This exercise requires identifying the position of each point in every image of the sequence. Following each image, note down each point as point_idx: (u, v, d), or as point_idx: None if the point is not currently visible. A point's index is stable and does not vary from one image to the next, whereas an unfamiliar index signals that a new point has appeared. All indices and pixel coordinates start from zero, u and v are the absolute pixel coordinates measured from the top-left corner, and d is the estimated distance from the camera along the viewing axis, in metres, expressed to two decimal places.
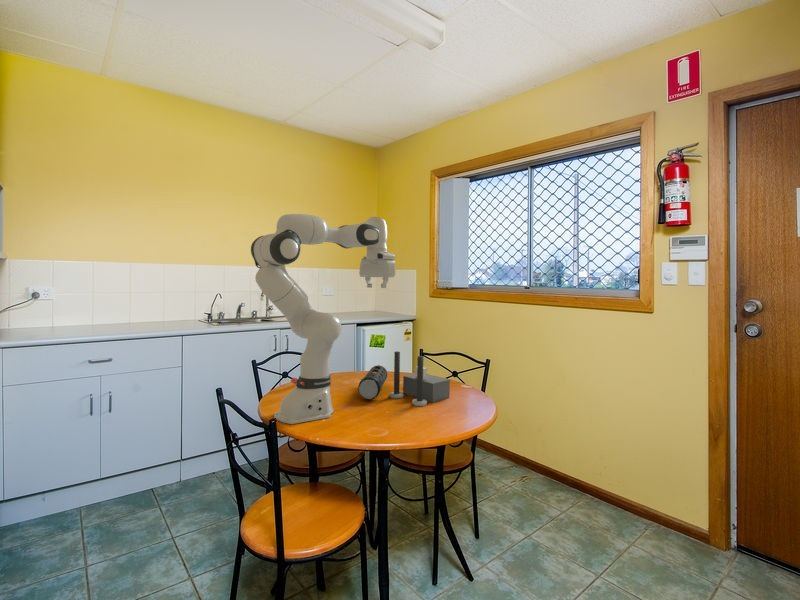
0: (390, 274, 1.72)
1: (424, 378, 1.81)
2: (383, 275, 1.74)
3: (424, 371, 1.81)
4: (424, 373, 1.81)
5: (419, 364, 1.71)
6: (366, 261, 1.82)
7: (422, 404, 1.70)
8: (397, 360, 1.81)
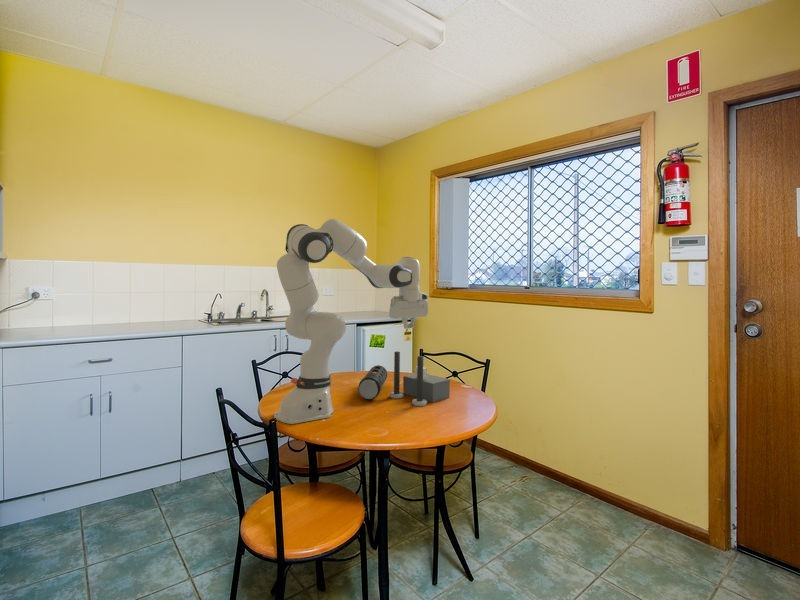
0: None
1: (424, 378, 1.81)
2: (422, 315, 1.79)
3: (424, 371, 1.81)
4: (424, 373, 1.81)
5: (419, 364, 1.71)
6: (404, 302, 1.71)
7: (422, 404, 1.70)
8: (397, 360, 1.81)
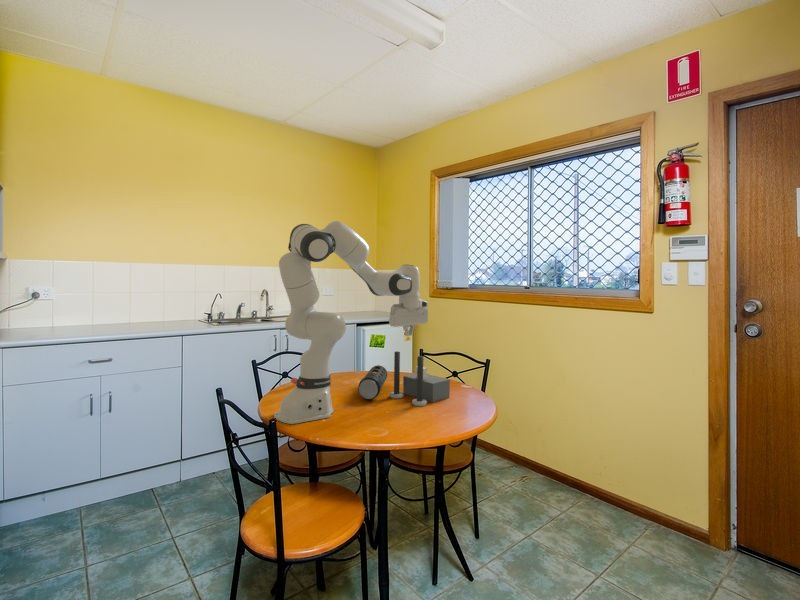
0: None
1: (424, 378, 1.81)
2: (422, 322, 1.80)
3: (424, 371, 1.81)
4: (424, 373, 1.81)
5: (419, 364, 1.71)
6: (403, 309, 1.71)
7: (422, 404, 1.70)
8: (397, 360, 1.81)
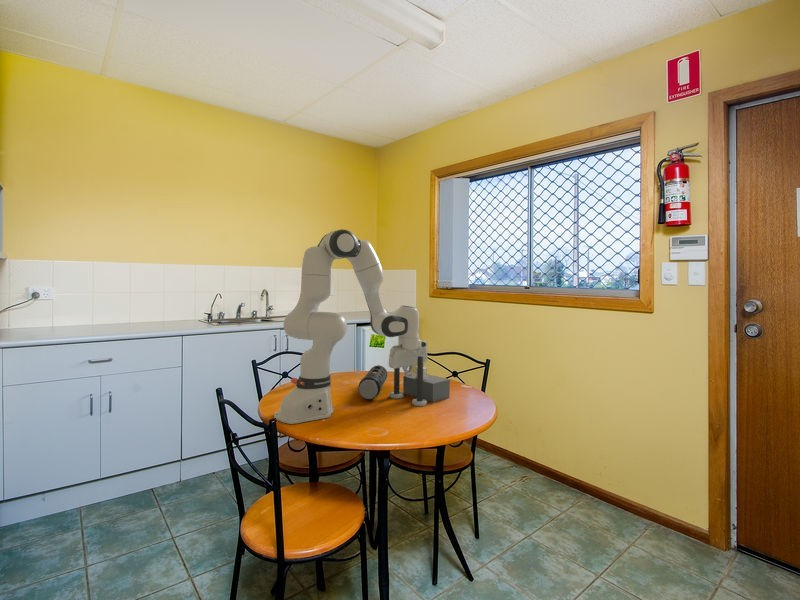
0: None
1: (424, 378, 1.81)
2: None
3: (424, 371, 1.81)
4: (424, 373, 1.81)
5: (419, 364, 1.71)
6: (403, 351, 1.72)
7: (422, 404, 1.70)
8: None
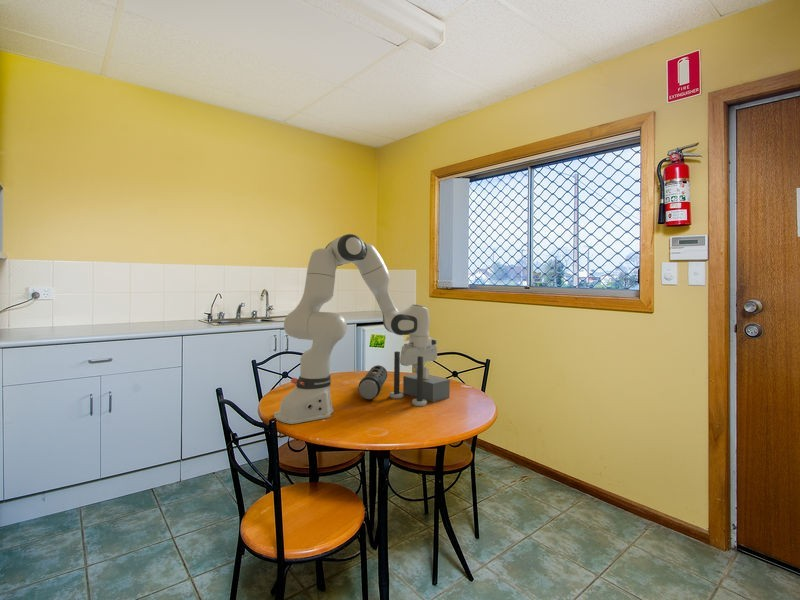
0: None
1: (426, 377, 1.82)
2: (431, 359, 1.85)
3: (427, 371, 1.82)
4: (426, 373, 1.82)
5: (419, 364, 1.71)
6: (414, 348, 1.77)
7: (422, 404, 1.70)
8: (397, 360, 1.81)
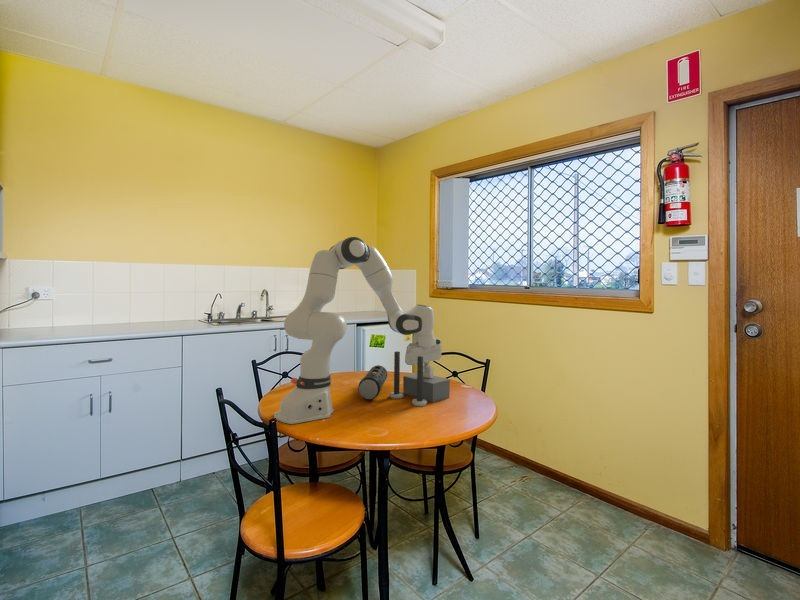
0: None
1: (431, 376, 1.84)
2: (436, 359, 1.87)
3: (431, 370, 1.84)
4: (431, 372, 1.84)
5: (419, 364, 1.71)
6: (419, 348, 1.79)
7: (422, 404, 1.70)
8: (397, 360, 1.81)
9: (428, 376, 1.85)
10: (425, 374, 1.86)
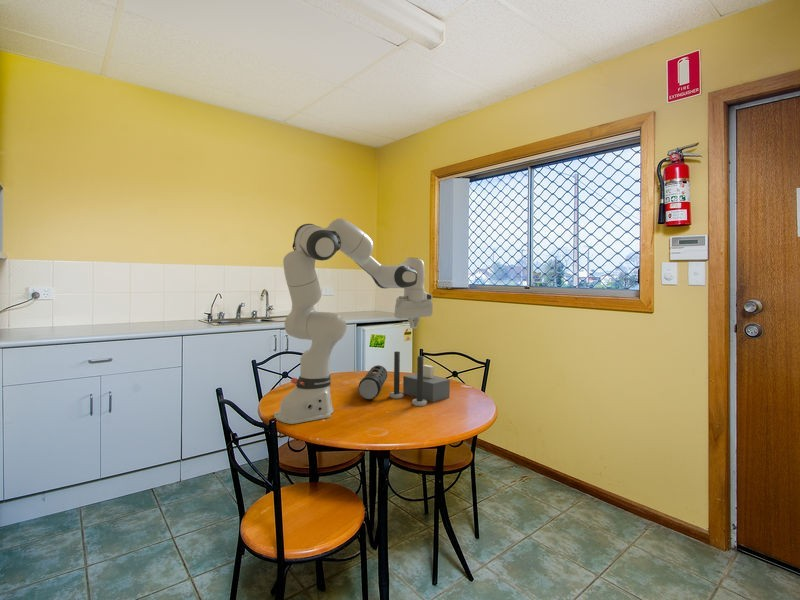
0: None
1: (431, 376, 1.84)
2: (427, 315, 1.82)
3: (431, 370, 1.84)
4: (431, 372, 1.84)
5: (419, 364, 1.71)
6: (409, 302, 1.73)
7: (422, 404, 1.70)
8: (397, 360, 1.81)
9: (428, 376, 1.85)
10: (425, 374, 1.86)
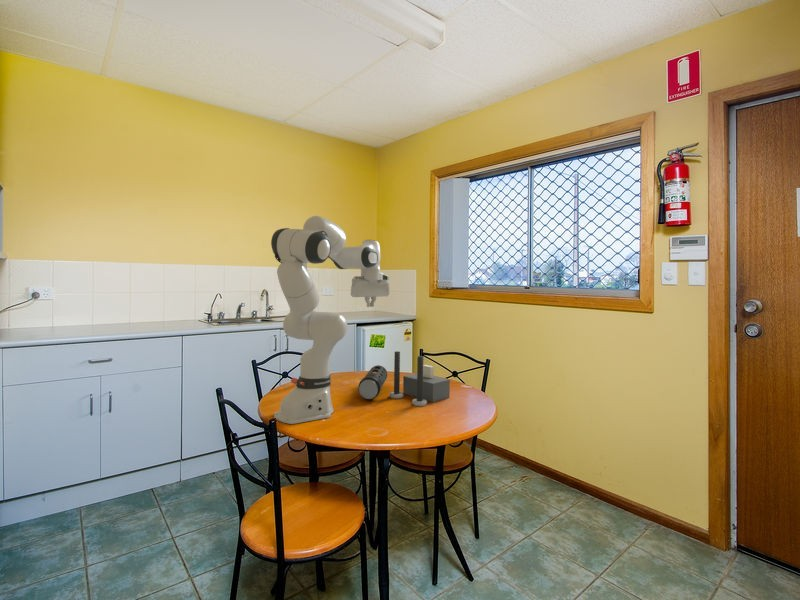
0: None
1: (431, 376, 1.84)
2: (383, 294, 1.91)
3: (431, 370, 1.84)
4: (431, 372, 1.84)
5: (419, 364, 1.71)
6: (364, 281, 1.83)
7: (422, 404, 1.70)
8: (397, 360, 1.81)
9: (428, 376, 1.85)
10: (425, 374, 1.86)
